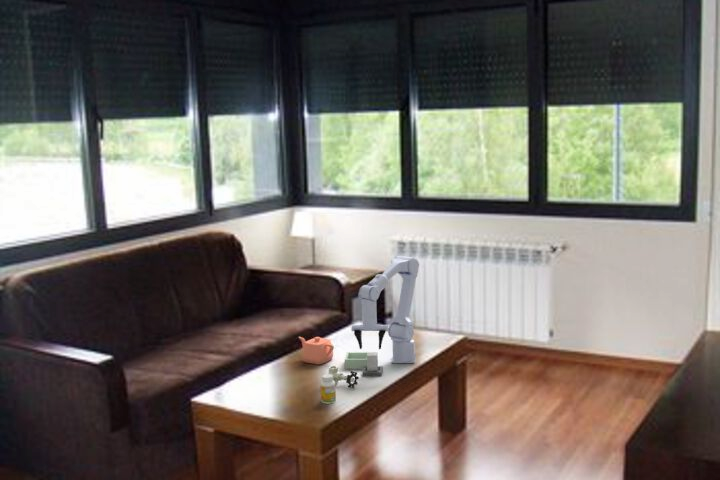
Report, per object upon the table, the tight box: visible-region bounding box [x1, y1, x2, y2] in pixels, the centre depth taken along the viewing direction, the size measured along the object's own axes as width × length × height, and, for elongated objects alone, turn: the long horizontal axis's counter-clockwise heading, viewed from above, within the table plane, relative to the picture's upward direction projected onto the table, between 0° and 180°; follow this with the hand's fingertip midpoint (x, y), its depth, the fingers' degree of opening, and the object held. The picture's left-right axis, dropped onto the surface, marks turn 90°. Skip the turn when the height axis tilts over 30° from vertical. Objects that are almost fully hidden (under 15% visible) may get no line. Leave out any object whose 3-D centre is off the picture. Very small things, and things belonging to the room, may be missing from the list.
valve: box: [327, 365, 359, 389], centre depth 301 cm, size 7×7×12 cm
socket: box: [362, 365, 384, 377], centre depth 314 cm, size 8×8×2 cm
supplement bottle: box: [320, 373, 337, 405], centre depth 284 cm, size 5×5×10 cm
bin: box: [344, 351, 371, 370], centre depth 324 cm, size 10×10×4 cm
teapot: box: [298, 336, 335, 365], centre depth 331 cm, size 12×18×10 cm, turn 57°
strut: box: [366, 351, 379, 372], centre depth 314 cm, size 4×4×8 cm
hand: (370, 348), depth 312 cm, fingers open, 7 cm apart
